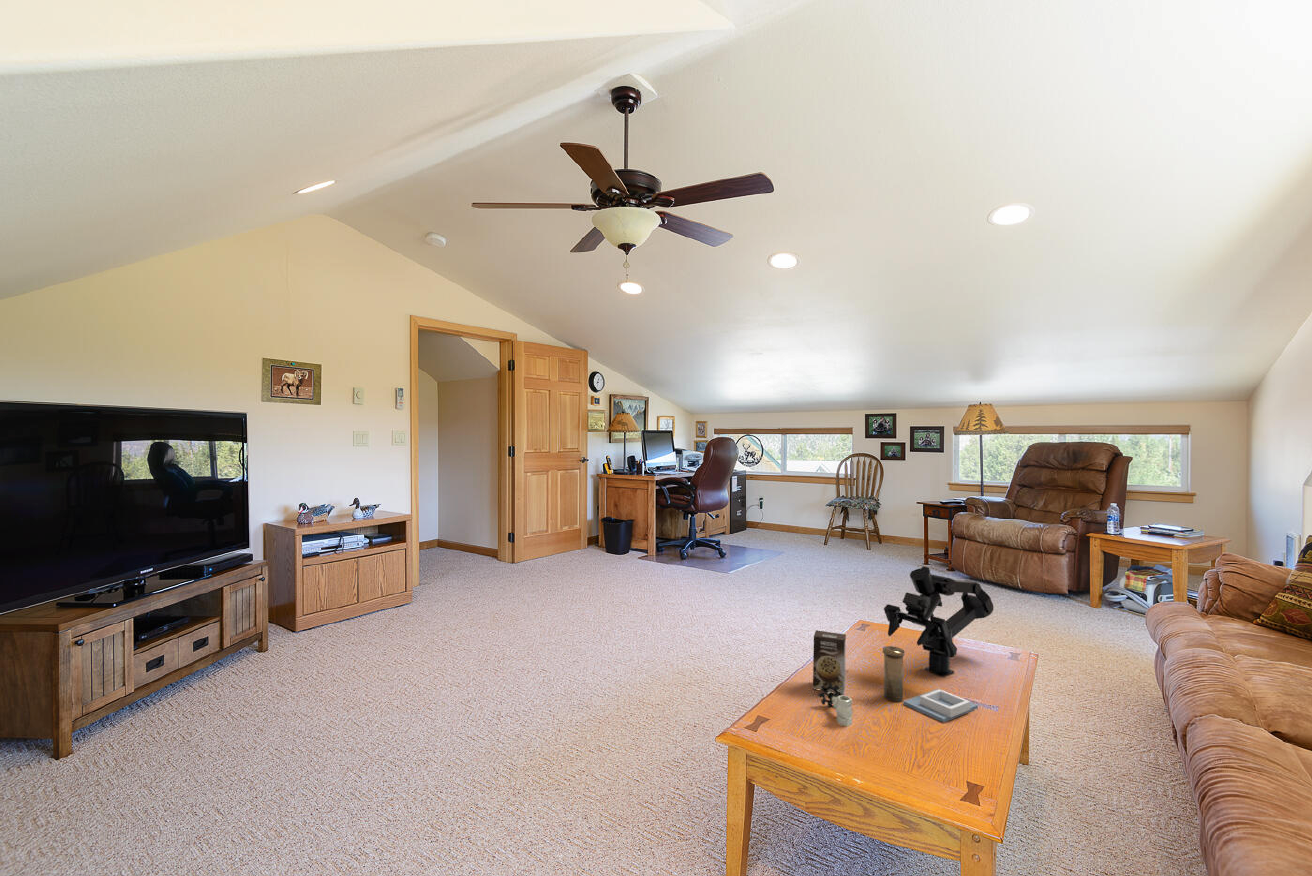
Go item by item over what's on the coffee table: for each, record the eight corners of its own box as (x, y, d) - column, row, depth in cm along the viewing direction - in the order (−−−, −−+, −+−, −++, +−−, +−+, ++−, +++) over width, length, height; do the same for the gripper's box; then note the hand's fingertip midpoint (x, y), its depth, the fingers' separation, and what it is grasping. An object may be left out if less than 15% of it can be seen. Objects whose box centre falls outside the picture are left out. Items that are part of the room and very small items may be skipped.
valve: (859, 726, 148) (840, 705, 159) (859, 701, 148) (840, 681, 160) (835, 727, 147) (817, 706, 159) (835, 702, 147) (818, 682, 159)
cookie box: (812, 690, 169) (812, 635, 169) (814, 681, 175) (815, 629, 175) (844, 695, 166) (844, 640, 166) (845, 686, 172) (846, 633, 172)
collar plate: (937, 692, 168) (937, 681, 168) (979, 709, 157) (979, 697, 157) (903, 704, 160) (903, 693, 160) (945, 723, 149) (945, 711, 149)
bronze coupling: (891, 692, 168) (891, 644, 168) (908, 699, 163) (908, 651, 163) (878, 696, 165) (878, 648, 165) (895, 704, 160) (895, 654, 160)
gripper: (891, 578, 184) (867, 611, 176) (949, 592, 169) (926, 628, 161) (900, 604, 188) (877, 637, 180) (958, 620, 173) (936, 656, 165)
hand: (902, 639), depth 171 cm, fingers open, 9 cm apart
